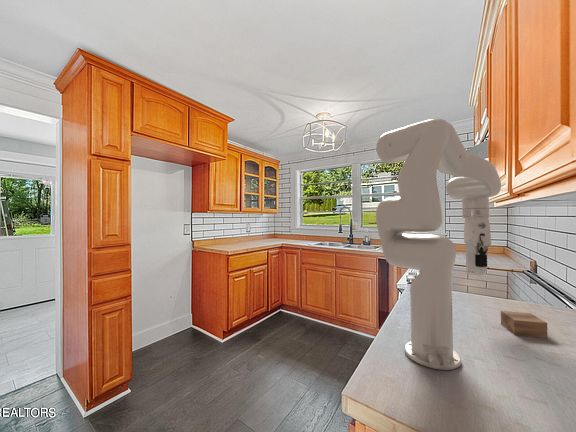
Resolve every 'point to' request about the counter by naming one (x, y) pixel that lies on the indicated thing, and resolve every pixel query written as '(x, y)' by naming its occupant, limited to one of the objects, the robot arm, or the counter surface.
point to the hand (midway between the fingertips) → (476, 264)
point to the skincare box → (472, 260)
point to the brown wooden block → (524, 324)
